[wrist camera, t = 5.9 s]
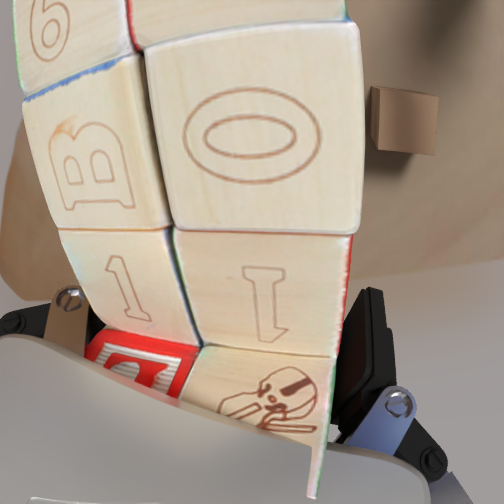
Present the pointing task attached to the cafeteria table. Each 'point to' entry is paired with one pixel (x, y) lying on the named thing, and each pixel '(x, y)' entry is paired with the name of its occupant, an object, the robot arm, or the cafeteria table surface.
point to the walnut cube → (404, 120)
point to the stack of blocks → (205, 191)
